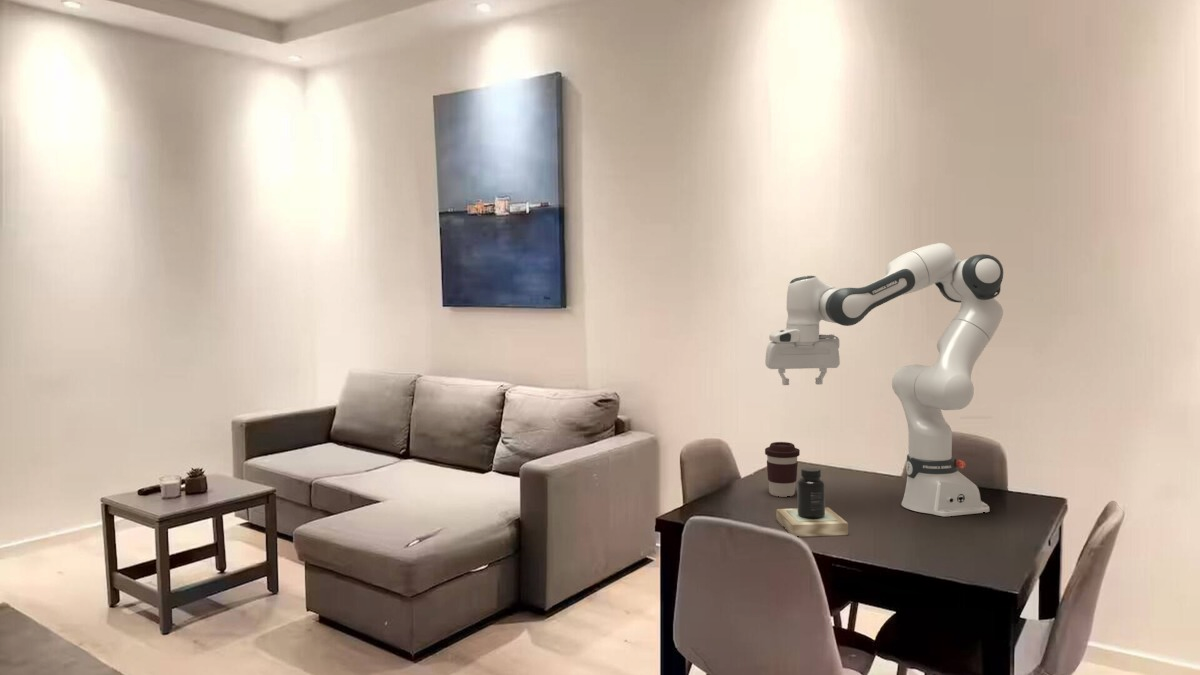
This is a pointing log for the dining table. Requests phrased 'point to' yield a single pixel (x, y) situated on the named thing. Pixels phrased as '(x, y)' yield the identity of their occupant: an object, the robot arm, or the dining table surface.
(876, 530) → the dining table surface
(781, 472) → the coffee cup
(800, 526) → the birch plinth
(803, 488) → the supplement bottle
